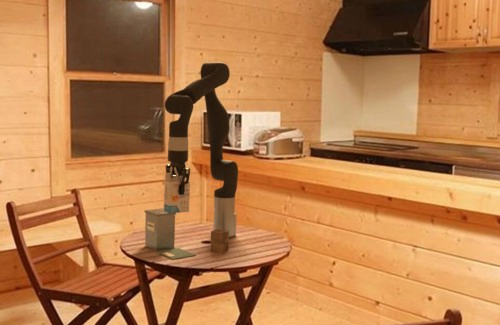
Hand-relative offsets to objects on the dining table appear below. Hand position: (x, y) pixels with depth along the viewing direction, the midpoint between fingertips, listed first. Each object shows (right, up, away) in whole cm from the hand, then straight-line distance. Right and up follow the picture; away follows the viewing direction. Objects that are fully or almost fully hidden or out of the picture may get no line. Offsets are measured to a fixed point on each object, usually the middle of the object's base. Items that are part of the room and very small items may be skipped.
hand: (177, 193), depth 220 cm
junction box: (-8, -22, +12) cm, 26 cm away
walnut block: (+15, -23, +10) cm, 30 cm away
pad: (-1, -23, +3) cm, 24 cm away
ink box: (0, -7, +1) cm, 7 cm away
